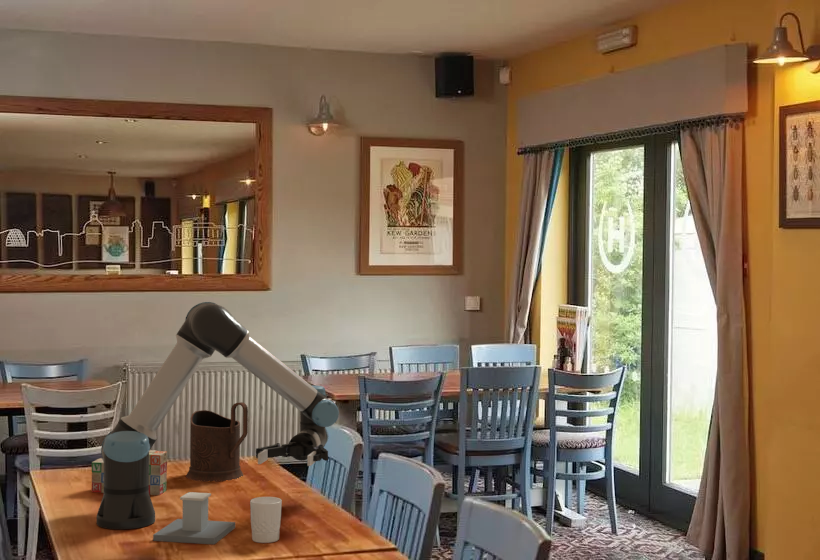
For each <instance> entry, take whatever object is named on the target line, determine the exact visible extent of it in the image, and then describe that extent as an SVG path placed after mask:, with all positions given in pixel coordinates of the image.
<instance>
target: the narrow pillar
mask: <svg viewBox="0 0 820 560" xmlns="http://www.w3.org/2000/svg"><path fill="white" fill-rule="evenodd" d="M211 496H212V492H211V493H210V492H209V493H208V492H195V491H194V492H193V491H191V492H190V491H188V492H187V493H184V494H183V495H182V496H180V497H179V500H181V501H182V518H177V519H174V520H173V521H172V522H170V523H169V524H167V525H165V526H163V528H161V529H160V530H158V531H157V532H155V533H153V534H152V541H154V542H168V543H170V542H171V543H185V544H187V543H188V544H199V545H201V544H202V545H216V544H217V543H218V542H219V541H221V540H222V539H223V538H225V537H226V536H227V535H228V534H230V533H231V532H232V531H233V530H235V529H236V521H225V520H224V521H221V520H209V497H211Z"/></svg>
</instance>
